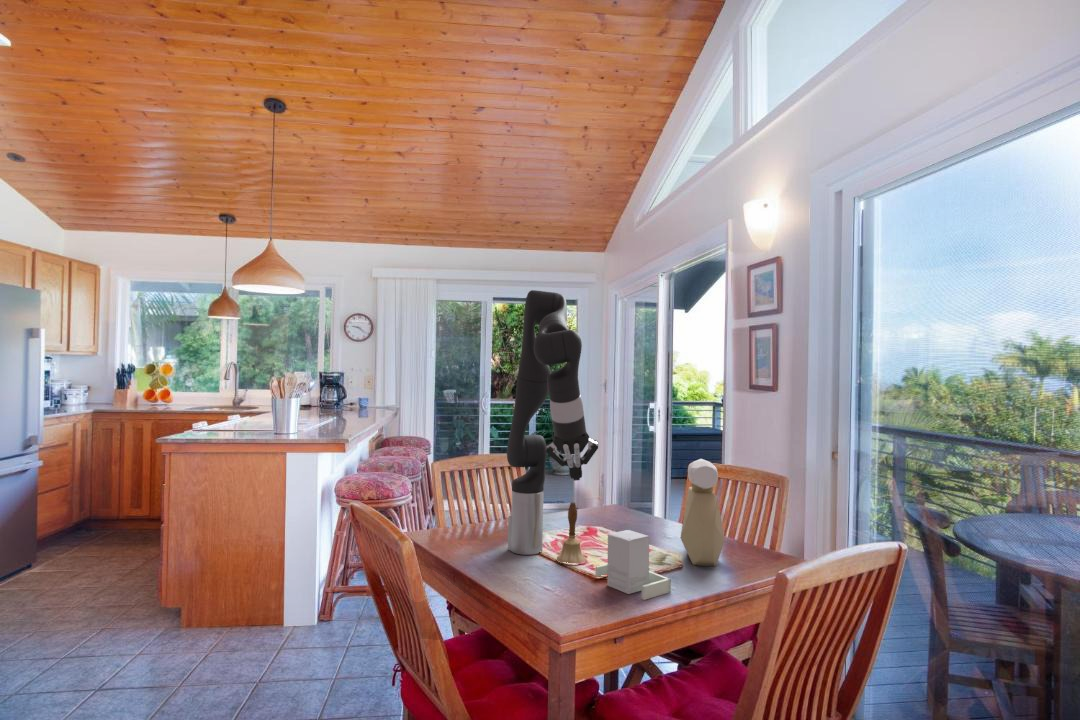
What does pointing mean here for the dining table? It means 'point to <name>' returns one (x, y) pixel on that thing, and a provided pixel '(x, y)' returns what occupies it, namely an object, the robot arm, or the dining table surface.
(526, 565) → the dining table surface
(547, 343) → the robot arm
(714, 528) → the perfume bottle
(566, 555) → the hand bell
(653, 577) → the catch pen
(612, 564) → the supplement box
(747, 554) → the dining table surface
